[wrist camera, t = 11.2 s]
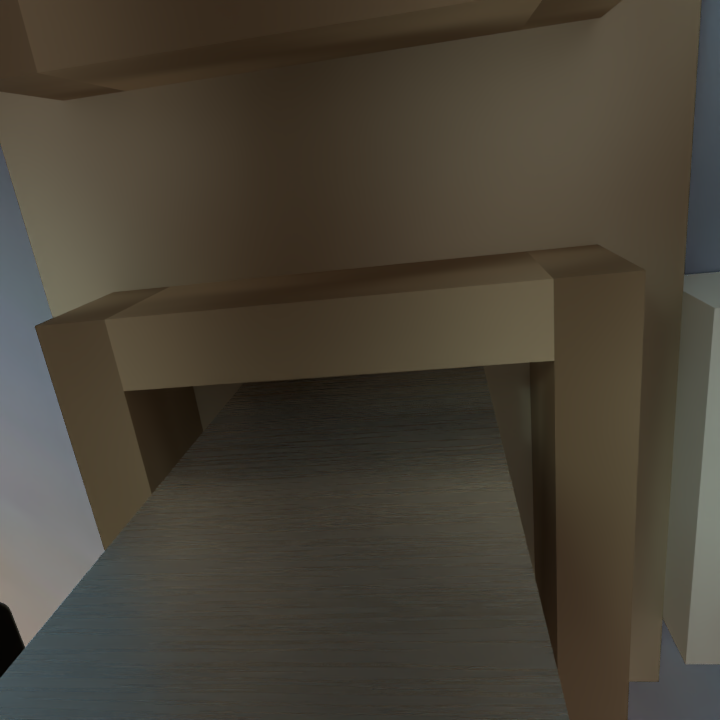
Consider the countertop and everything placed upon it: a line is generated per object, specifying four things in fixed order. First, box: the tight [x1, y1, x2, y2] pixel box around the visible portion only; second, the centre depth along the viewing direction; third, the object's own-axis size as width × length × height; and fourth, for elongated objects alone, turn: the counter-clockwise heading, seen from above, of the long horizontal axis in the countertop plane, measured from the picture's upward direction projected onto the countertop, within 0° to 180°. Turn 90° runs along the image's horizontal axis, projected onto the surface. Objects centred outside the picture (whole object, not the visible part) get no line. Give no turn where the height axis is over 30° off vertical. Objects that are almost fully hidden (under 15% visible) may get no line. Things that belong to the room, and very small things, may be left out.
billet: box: [0, 366, 569, 720], centre depth 6 cm, size 4×4×8 cm
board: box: [0, 0, 701, 720], centre depth 8 cm, size 10×19×3 cm, turn 7°
